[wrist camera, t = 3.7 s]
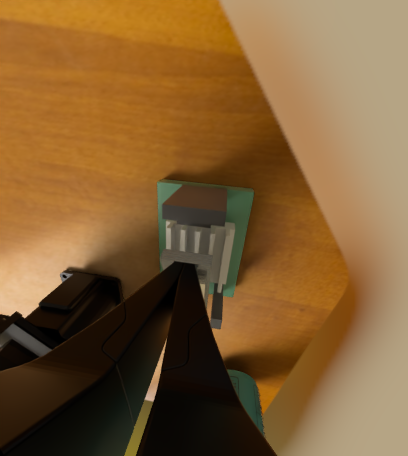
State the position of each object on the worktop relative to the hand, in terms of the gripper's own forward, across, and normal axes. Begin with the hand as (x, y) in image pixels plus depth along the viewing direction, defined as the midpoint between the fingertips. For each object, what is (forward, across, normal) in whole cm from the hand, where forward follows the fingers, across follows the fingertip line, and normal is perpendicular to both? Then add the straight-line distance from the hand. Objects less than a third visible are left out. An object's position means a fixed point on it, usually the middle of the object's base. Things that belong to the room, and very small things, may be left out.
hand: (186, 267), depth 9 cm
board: (+7, 0, +3) cm, 7 cm away
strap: (+2, 0, +3) cm, 3 cm away
